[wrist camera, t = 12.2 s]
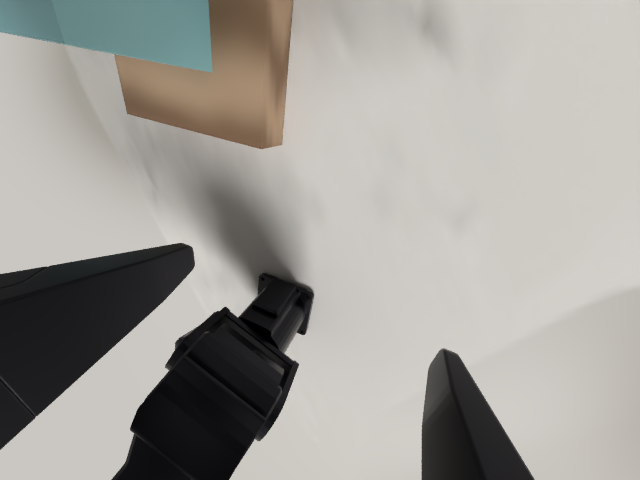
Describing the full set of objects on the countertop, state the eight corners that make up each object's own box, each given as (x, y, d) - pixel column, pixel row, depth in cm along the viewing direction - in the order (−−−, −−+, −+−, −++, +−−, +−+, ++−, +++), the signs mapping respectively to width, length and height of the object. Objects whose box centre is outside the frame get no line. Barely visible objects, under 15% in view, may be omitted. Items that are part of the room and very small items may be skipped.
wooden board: (282, 144, 20) (261, 149, 17) (159, 113, 23) (127, 113, 20) (301, -106, 13) (272, -158, 11) (125, -103, 16) (71, -143, 14)
